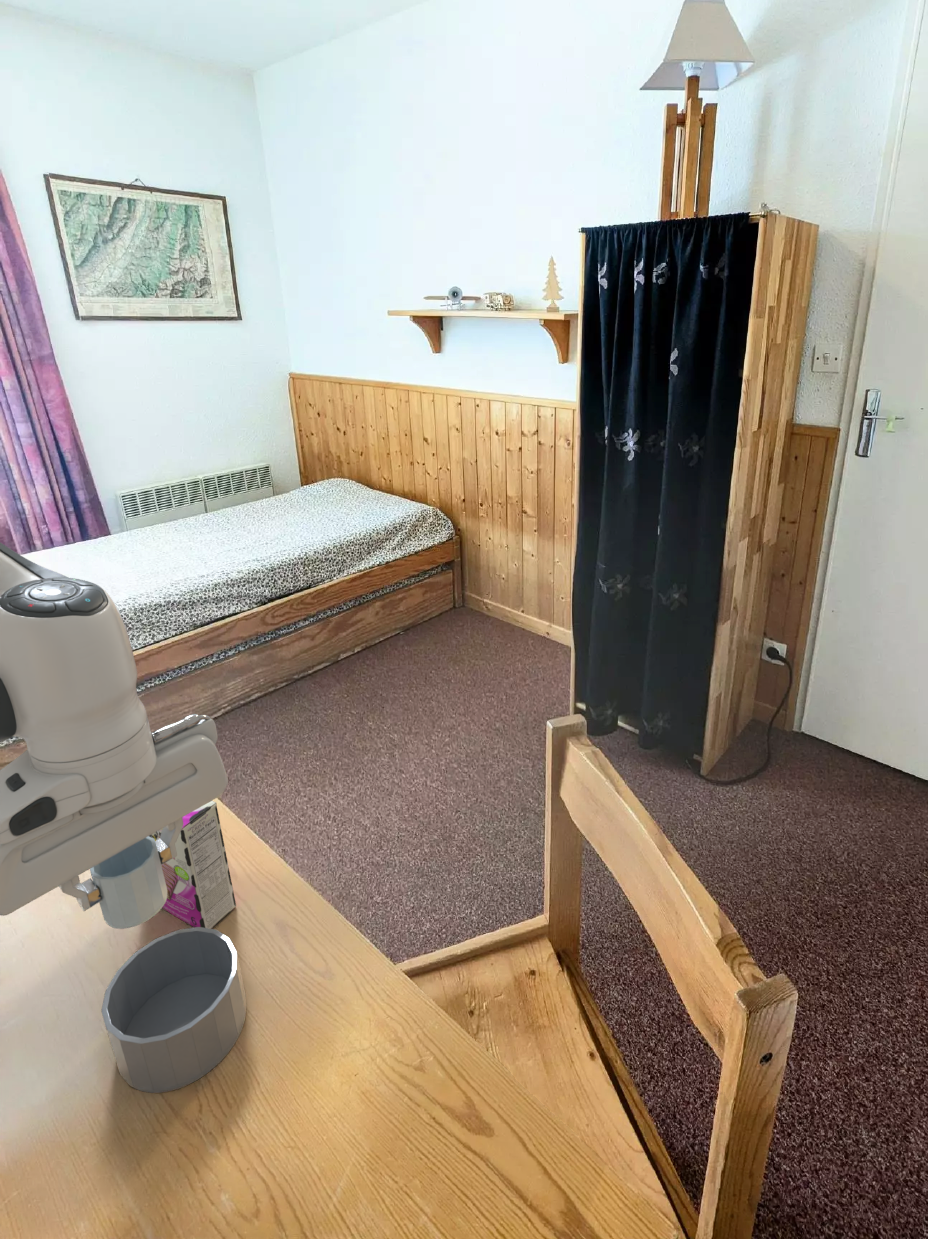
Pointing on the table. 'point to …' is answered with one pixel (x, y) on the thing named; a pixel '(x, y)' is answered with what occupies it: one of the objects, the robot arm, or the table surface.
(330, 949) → the table surface
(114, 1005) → the gray bowl
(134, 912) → the light blue cup
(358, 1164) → the table surface
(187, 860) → the candy bar box
